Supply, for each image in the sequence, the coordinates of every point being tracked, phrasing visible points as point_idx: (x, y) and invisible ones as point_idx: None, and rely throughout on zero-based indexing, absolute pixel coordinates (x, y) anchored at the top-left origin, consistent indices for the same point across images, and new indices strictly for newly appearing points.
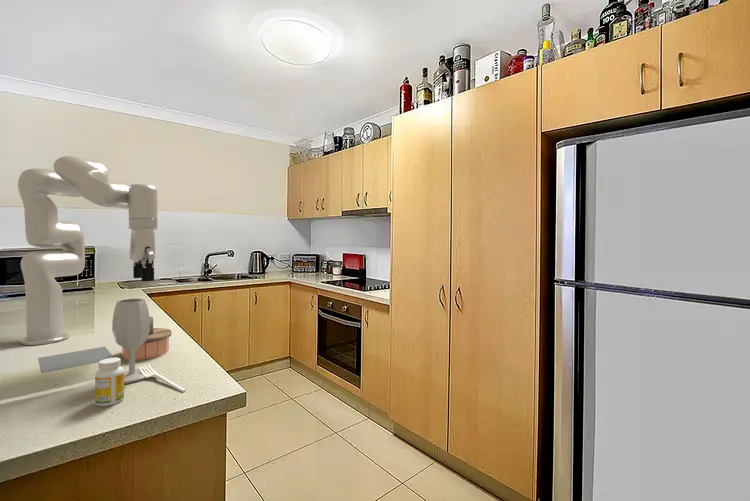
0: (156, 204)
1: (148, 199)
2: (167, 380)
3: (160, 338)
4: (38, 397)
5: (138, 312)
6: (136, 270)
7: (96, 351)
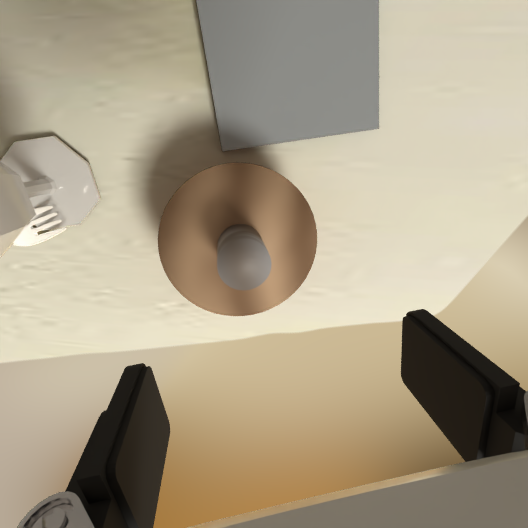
0: None
1: None
2: None
3: (172, 281)
4: None
5: None
6: (447, 370)
7: (337, 103)
